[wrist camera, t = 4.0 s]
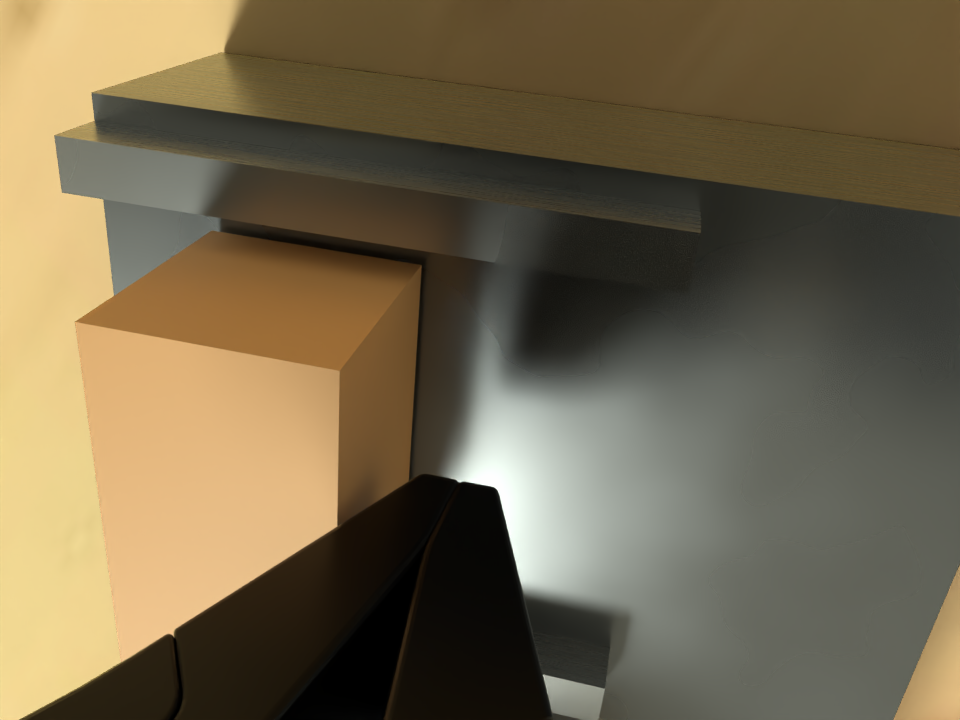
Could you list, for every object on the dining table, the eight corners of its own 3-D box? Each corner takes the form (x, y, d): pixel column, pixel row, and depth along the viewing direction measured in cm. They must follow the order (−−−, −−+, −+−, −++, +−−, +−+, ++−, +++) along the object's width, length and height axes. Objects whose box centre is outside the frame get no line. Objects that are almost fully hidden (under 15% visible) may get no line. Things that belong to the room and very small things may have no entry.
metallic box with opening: (1002, 155, 11) (1132, 262, 8) (706, 982, 19) (707, 1203, 16) (221, 52, 12) (49, 104, 9) (257, 859, 20) (174, 1038, 17)
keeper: (421, 264, 10) (338, 370, 7) (402, 582, 12) (332, 739, 10) (212, 230, 10) (75, 321, 8) (228, 544, 12) (124, 686, 10)
